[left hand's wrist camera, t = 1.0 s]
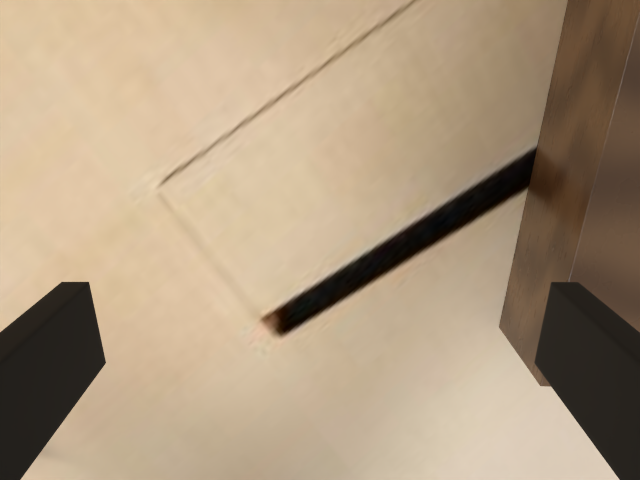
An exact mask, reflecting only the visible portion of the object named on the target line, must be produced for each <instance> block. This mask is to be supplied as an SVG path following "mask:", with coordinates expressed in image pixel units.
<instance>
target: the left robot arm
mask: <svg viewBox="0 0 640 480" xmlns="http://www.w3.org/2000/svg"><path fill="white" fill-rule="evenodd" d="M105 363H106V361H105V357H104V352H103V347H102V342H101V337H100V333H99V328H98V323H97V318H96V314H95V309H94V304H93V299H92V295H91V290H90V285H89V282H61V283H60V284H59V285H58V286H56V287H55V288H54V289H53V290H52V291H50V292H49V293H48V294H47V295H45V296H44V297H43V298H42V299H41V300H39V301H38V302H37V303H36V304H34V305H33V306H32V307H31V308H30V309H28V310H27V311H26V312H25V313H23V314H22V315H21V316H20V317H19V318H17V319H16V320H15V321H14V322H12V323H11V324H10V325H9V326H8V327H6V328H5V329H4V330H3V331H1V332H0V480H20V479H21V478H22V477H23V475H24V474H25V473H26V471H27V470H28V468H29V467H30V466H31V464H32V463H33V462H34V460H35V459H36V457H37V456H38V455H39V453H40V452H41V451H42V449H43V448H44V447H45V445H46V444H47V442H48V441H49V440H50V438H51V437H52V436H53V434H54V433H55V432H56V430H57V429H58V427H59V426H60V425H61V423H62V422H63V421H64V419H65V418H66V417H67V415H68V414H69V412H70V411H71V410H72V408H73V407H74V406H75V404H76V403H77V402H78V400H79V399H80V397H81V396H82V395H83V393H84V392H85V391H86V389H87V388H88V387H89V385H90V384H91V382H92V381H93V380H94V378H95V377H96V376H97V374H98V373H99V372H100V370H101V369H102V367H103V366H104V365H105ZM534 363H535V365H536V366H537V367H538V369H539V370H540V372H541V373H542V374H543V376H544V377H545V378H546V380H547V381H548V382H549V384H550V385H551V387H552V388H553V389H554V391H555V392H556V393H557V395H558V396H559V397H560V399H561V400H562V402H563V403H564V404H565V406H566V407H567V408H568V410H569V411H570V412H571V414H572V415H573V417H574V418H575V419H576V421H577V422H578V423H579V425H580V426H581V427H582V429H583V430H584V432H585V433H586V434H587V436H588V437H589V438H590V440H591V441H592V442H593V444H594V445H595V447H596V448H597V449H598V451H599V452H600V453H601V455H602V456H603V457H604V459H605V460H606V462H607V463H608V464H609V466H610V467H611V468H612V470H613V471H614V473H615V474H616V475H617V477H618V478H619V479H620V480H640V332H639V331H637V330H636V329H635V328H634V327H632V326H631V325H630V324H629V323H628V322H626V321H625V320H624V319H623V318H621V317H620V316H619V315H618V314H617V313H615V312H614V311H613V310H612V309H610V308H609V307H608V306H607V305H606V304H604V303H603V302H602V301H601V300H599V299H598V298H597V297H596V296H595V295H593V294H592V293H591V292H590V291H588V290H587V289H586V288H585V287H584V286H582V285H581V284H580V283H579V282H551V285H550V290H549V295H548V299H547V304H546V309H545V314H544V318H543V323H542V328H541V333H540V337H539V342H538V347H537V352H536V357H535V361H534Z"/></svg>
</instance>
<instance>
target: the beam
mask: <svg viewBox="0 0 640 480" xmlns="http://www.w3.org/2000/svg"><path fill="white" fill-rule="evenodd" d="M551 282H579V283H580V284H581V285H582V286H584V287H585V288H586V289H587V290H588V291H590V292H591V293H592V294H593V295H595V296H596V297H597V298H598V299H599V300H601V301H602V302H603V303H604V304H606V305H607V306H608V307H609V308H610V309H612V310H613V311H614V312H615V313H617V314H618V315H619V316H620V317H621V318H623V319H624V320H625V321H626V322H628V323H629V324H630V325H631V326H632V327H634V328H635V329H636V330H637V331H639V332H640V0H568V5H567V9H566V14H565V19H564V23H563V28H562V33H561V38H560V42H559V47H558V52H557V57H556V61H555V66H554V71H553V75H552V80H551V85H550V90H549V94H548V99H547V104H546V109H545V113H544V118H543V123H542V127H541V132H540V137H539V142H538V146H537V151H536V156H535V161H534V165H533V170H532V175H531V179H530V184H529V189H528V194H527V198H526V203H525V208H524V213H523V217H522V222H521V227H520V231H519V236H518V241H517V246H516V250H515V255H514V260H513V265H512V269H511V274H510V279H509V283H508V288H507V293H506V298H505V302H504V307H503V312H502V317H501V321H500V326H499V328H500V329H501V331H502V332H503V333H504V335H505V336H506V338H507V339H508V341H509V342H510V343H511V345H512V346H513V348H514V349H515V351H516V352H517V353H518V355H519V356H520V358H521V359H522V361H523V362H524V363H525V365H526V366H527V368H528V369H529V370H530V372H531V373H532V375H533V376H534V378H535V379H536V380H537V382H538V383H539V385H540V386H551V385H550V384H549V382H548V381H547V380H546V378H545V377H544V376H543V374H542V373H541V372H540V370H539V369H538V367H537V366H536V365H535V363H534V361H535V357H536V352H537V347H538V342H539V337H540V333H541V328H542V323H543V318H544V314H545V309H546V304H547V299H548V295H549V290H550V285H551Z"/></svg>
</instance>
